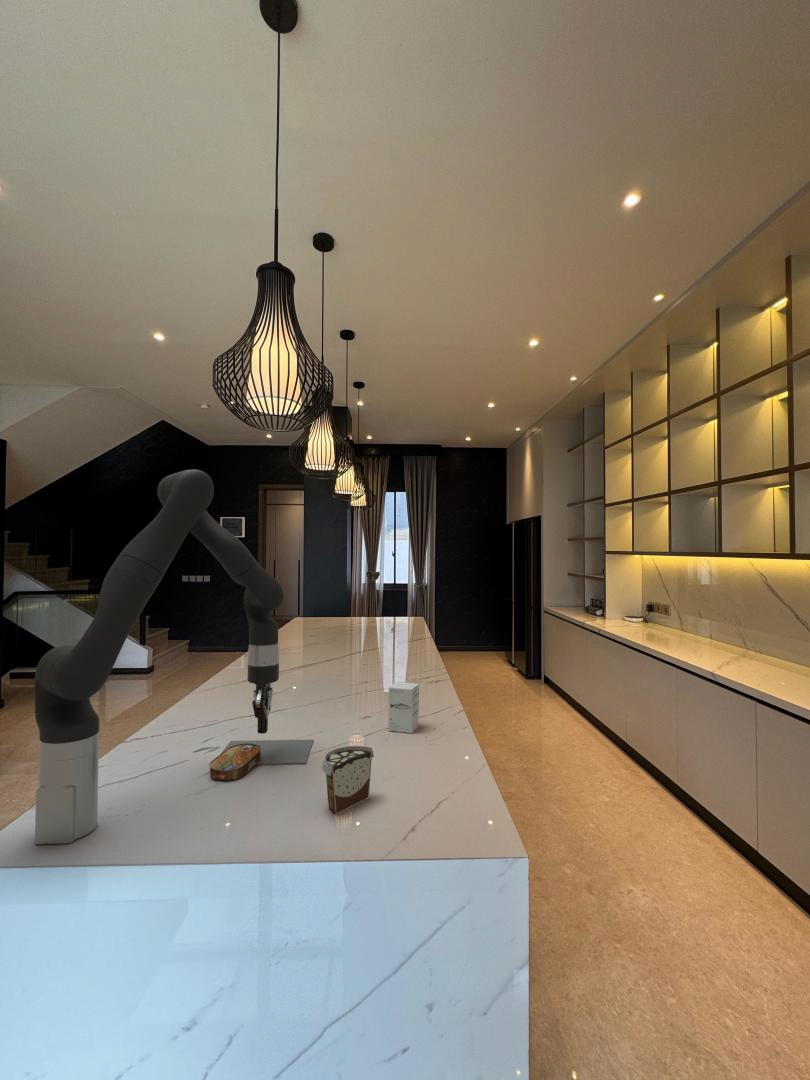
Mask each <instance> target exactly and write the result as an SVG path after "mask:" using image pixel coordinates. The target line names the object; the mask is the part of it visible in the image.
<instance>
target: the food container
mask: <svg viewBox="0 0 810 1080" xmlns="http://www.w3.org/2000/svg"><path fill="white" fill-rule="evenodd" d="M374 757H375V755H374V750H373V748H372V747H369V746H362V745H347V746H342V747H337V748H334V749H332V750H330V751H328V752H327V753H326V754H325V756H324V758H323V762H322V765H321V768H322V769H321V770H322V771H323V773H324V774H325V778H326V781H325V782H326V790H327V791H326V792H327V794H326V795H327V803H328V805H327V806H328V811H329V812H330V811H331V812H332V813H331V812H330V813H331V814H333V815H334V814H335V816H337V815H339V814H341V813H343V812H345V811H347V810H349V809H351V808H353V807H354V805H355V806H356V804H357V803H359V802H361V801H363V800H364V801H366V800H367V799H366V798H368V797H369V798H370V787H371V775H372V761H373V759H372V758H374ZM369 798H368V799H369ZM365 799H366V800H365ZM364 801H363V802H364ZM361 803H362V802H361ZM359 804H360V803H359ZM357 805H358V804H357ZM352 806H353V807H352ZM350 807H351V808H350ZM348 808H349V809H348ZM346 809H347V810H346ZM344 810H345V811H344ZM342 811H343V812H342ZM340 812H341V813H340ZM338 813H339V814H338ZM336 814H337V815H336Z"/></svg>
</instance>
